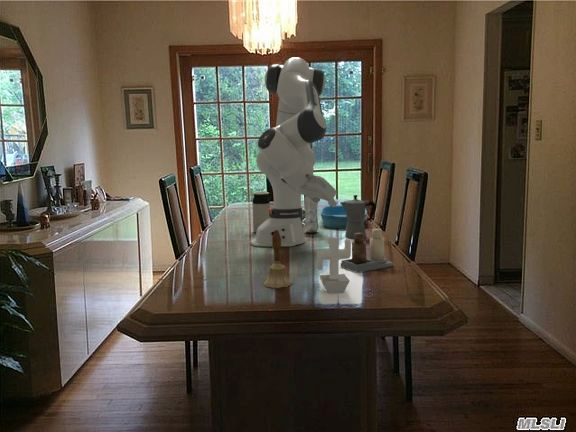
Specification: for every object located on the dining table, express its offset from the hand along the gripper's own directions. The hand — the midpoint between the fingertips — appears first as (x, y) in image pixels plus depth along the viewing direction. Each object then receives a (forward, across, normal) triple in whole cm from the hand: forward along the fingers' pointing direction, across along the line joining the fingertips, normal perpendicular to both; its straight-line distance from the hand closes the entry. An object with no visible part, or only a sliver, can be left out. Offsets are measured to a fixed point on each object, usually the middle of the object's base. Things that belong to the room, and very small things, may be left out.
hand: (326, 203), depth 162 cm
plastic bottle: (+39, +59, -5) cm, 71 cm away
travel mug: (+28, +75, +8) cm, 81 cm away
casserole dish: (+58, +72, -23) cm, 96 cm away
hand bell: (0, -7, +30) cm, 31 cm away
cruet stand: (+24, -5, +6) cm, 25 cm away
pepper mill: (+21, -5, +7) cm, 23 cm away
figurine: (+7, -22, +22) cm, 32 cm away
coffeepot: (+45, +38, -13) cm, 61 cm away
